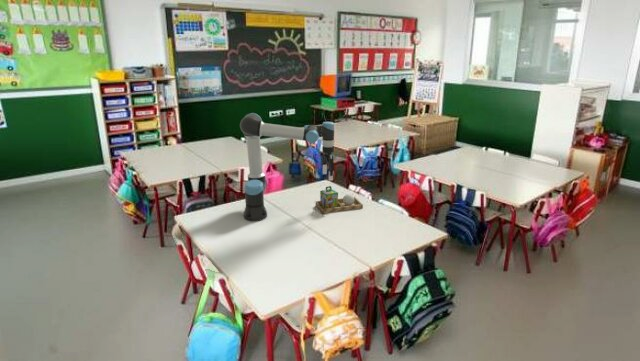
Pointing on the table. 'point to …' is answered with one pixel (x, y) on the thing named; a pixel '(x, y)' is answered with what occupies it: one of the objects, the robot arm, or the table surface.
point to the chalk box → (328, 198)
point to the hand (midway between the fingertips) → (327, 177)
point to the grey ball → (348, 199)
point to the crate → (340, 206)
